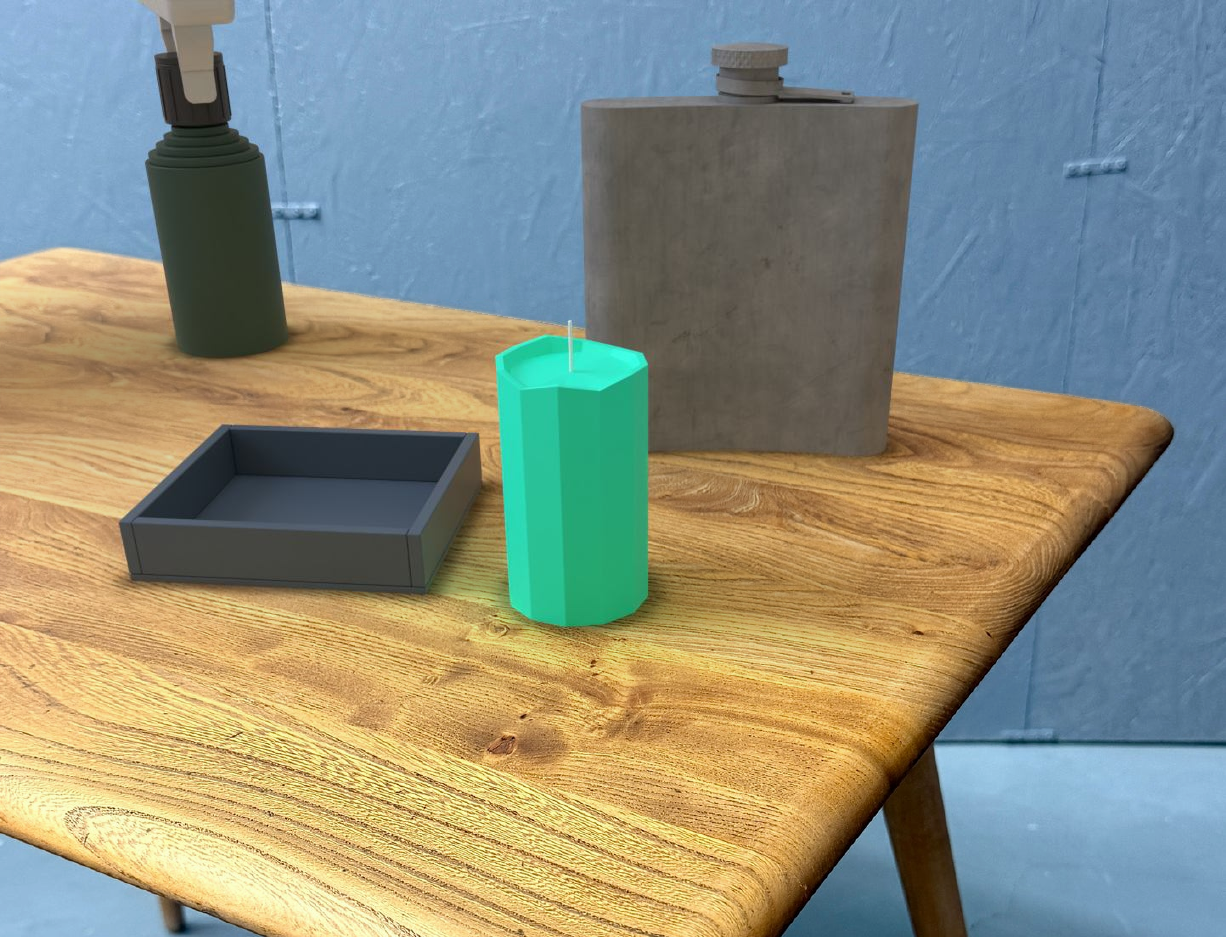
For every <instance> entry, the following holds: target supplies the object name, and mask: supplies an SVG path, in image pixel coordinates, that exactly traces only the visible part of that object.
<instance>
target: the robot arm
mask: <svg viewBox="0 0 1226 937" xmlns="http://www.w3.org/2000/svg"><path fill="white" fill-rule="evenodd" d="M136 2H138V3H139V4H141V5H142V6H144V7H145V8H147V9H149V10H150V11H151V12H153V13H154V14H156V17H157V18H156V19H157V22H158V28H159V34H160V37H161V39H162V43H163V46H164V50H165V53H167V52H177V56H178V62H179V67H180V69H179V72H180V79H181V84H182V91H183V95H184V96H185V98H186V99H187V100H188V101H189V102H191V103H193V104H196V103H211V102H213V101H214V100H215V99H216V96H217V92H216V85H215V78H214V71H213V69H214V51H215V47H214V46H215V38H214V30H213V26H216V25H217V26H219V25H230V24H232V23H233V22H234V20H235V14H236V0H136Z"/></svg>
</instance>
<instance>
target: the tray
mask: <svg viewBox="0 0 1226 937" xmlns="http://www.w3.org/2000/svg"><path fill="white" fill-rule="evenodd" d="M480 440H481V439H480V433H479V432H472V431H471V432H470V431H469V432H466V431H442V430H441V431H438V430H412V429H411V430H410V429H409V430H408V429H378V428H377V429H376V428H353V427H352V428H351V427H350V428H348V427H347V428H346V427H321V426H319V427H318V426H290V425H289V426H288V425H287V426H285V425H262V424H261V425H258V424H257V425H256V424H231V423H230V424H229V423H228V424H226V423H222V424H221V425H220V426H218V427H217V429H215V430H214V431H213V432H212V433H211V434H210V435H209V436H208V437H207V438H206V439H204V440H203V442H201V444H200V445H198V447H196V448H195V449H194V450H193V451H192V452H191V453H190V454H189V455H188V456H187V457H186V458H185V459H184V460H182V461H181V462H180V464H178V465H177V466H176V467H175V468H174V469H173V470H172V471H171V472H170V473H169V474H168V475H166V477H165V478H163V479H162V480H161V482H159V483H158V484H157V485H156V486H155V487H154V488H153V489H152V490H150V492H149V493H148V494H146V495H145V496H144V497H143V498H142V499H141V500H140V501H139V502H138V503H137V504H136V505H135V506H133V507H132V509H131V510H129V511H128V512H127V513H126V514H125V515H124V516H123V517H122V518H121V519H119V521H118V526H119V531H120V536H121V540H122V546H123V550H124V556H125V559H126V565H127V569H128V573H129V578H130V581H131V582H146V583H147V582H149V583H170V584H191V585H212V586H231V587H232V586H233V587H234V586H235V587H251V588H252V587H255V588H274V589H277V588H278V589H294V590H295V589H298V590H316V591H317V590H320V591H340V592H358V593H360V592H361V593H379V594H380V593H382V594H383V593H384V594H401V595H403V594H404V595H421V596H422V595H427V594H428V592H429V590H430V588H431V586H432V584H433V582H434V581H435V578H436V577H437V574H438V572H439V571H440V569H441V567H442V565H443V563H444V561H445V560H446V557H447V555H448V553H449V552H450V549H451V548H452V546H453V543H454V542H455V541H456V538H457V536H458V534H459V532H460V530H461V528H462V527H463V524H464V523H465V521H466V518H467V517H468V515H469V513H470V511H471V509H472V507H473V505H474V503H475V501H476V500H477V497H478V495H479V493H480V492H481V490H482V488H483V480H482V479H483V471H482V470H483V469H482V457H481V456H482V455H481V442H480Z"/></svg>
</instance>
